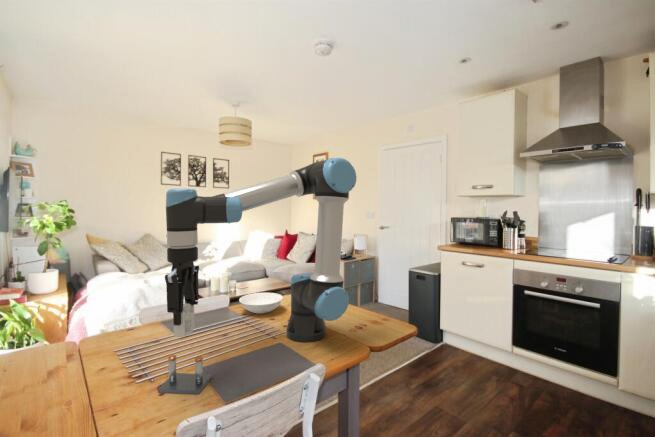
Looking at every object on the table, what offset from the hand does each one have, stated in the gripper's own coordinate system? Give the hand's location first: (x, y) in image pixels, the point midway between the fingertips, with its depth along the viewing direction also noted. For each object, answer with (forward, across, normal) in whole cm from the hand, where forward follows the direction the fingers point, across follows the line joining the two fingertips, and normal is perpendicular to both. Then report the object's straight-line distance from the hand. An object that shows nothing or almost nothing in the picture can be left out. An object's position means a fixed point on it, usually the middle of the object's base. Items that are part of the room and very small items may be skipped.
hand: (184, 332), depth 88 cm
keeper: (+14, 0, 0) cm, 14 cm away
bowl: (+15, -61, +4) cm, 63 cm away
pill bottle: (+1, 0, 0) cm, 1 cm away
